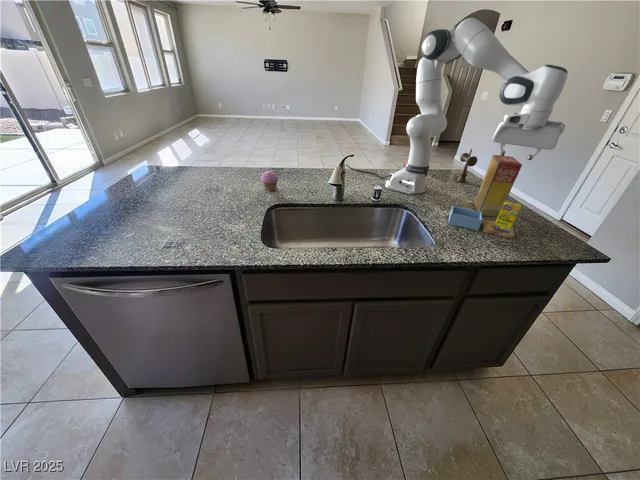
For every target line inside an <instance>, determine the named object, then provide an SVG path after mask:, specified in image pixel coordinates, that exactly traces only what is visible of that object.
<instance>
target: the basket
mask: <svg viewBox="0 0 640 480" xmlns="http://www.w3.org/2000/svg"><path fill="white" fill-rule="evenodd" d="M482 223H483V215H482V212H480V211H476V209H475V210H474V209H470V208H464V207H459V206H454V205H452V206H451V209H450V211H449V215H448V222H447V225H451V226H456V227H461V228H466V229H469V230H474V231H479V230H480V227H481V226H482V225H481V224H482Z"/></svg>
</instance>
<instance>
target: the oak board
mask: <svg viewBox="0 0 640 480" xmlns="http://www.w3.org/2000/svg"><path fill="white" fill-rule="evenodd" d="M495 223H496V221H493V220H488V219H482V231H483V233H487V234H491V235H496V236H500V237H504V238H510V239H515V236H516V234H515V231H514V228H513V227H514V226H512V227H511V230H510V231H509V233H507V232H504V231H501V230H498V229H494V228H493V227H494V225H495Z"/></svg>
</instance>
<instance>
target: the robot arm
mask: <svg viewBox="0 0 640 480" xmlns="http://www.w3.org/2000/svg"><path fill="white" fill-rule="evenodd" d="M420 51H421V56H423V57H422V58H420V60H419V61H418V64H417V70H416V77H415V78H416V80H415V102H416V105H417V106H418V108H419V111H420V114H417V115H415V116H413V117H411V118H410V119H409V120H408V122H407V124H406V128H405V129H406V133H407V135H408V137H409V142H410V148H409V155H408V160H405V161H404V162H403V165H402V168H401V169H399V170H397V171H395V172H394V173H393V172H392V173H389V174H388V175H386V176H383V177H382V176H380V175H379V174H377V173H376V172H372V171H367V170H360V169H357V170H355V171H356V172H361V173H367V174H373V175H375V176H377V177H378V178H379V179H381V180H382V179H384V180H385V179H386V178H388V177H389V180H386V181H385V184H384V187H385V188H386V189H389V190H392V191H396V192H401V193H403V194H408V195H414V194H423V193H425V192H426V190H427V189H426V183H427V176H428V174H429V171H430V162H431V159H432V155H433V154H432V153H433V149H432V146H431V138H432V137H436V136H438V135H440V134H441V133H443V132H444V131H445V130H446V128H447V125H448V120H447V117H446V116H445V114H444V111H443V105H442V100H441V97H442V96H441V92H442V91H441V90H442V70H443V67H444V65H449V64H450V65H451V63H453V62H454V61H456V60H458V59H460V58H461V57H463V59H464V60H465V61H466V62H467V63H468V64H470V65H471V66H472V67H474V68H476V69H480V70H486V71H488V72H493V73H496V74H497V75H499V76H500V77H501V78H502V79H503V80H504V81H505V82H503V84H502V85H501V87H500V90H499V95H498V96H499V100H500V102H501V103H502V104H503V105H506V106H515V107H516V106H517V107H518V106H522V109H521V110H520V111H518V112H511V113H508V114H505V115H504V116H503V121H501V122H500V123H499V124H498V125H497V127H496V129H495V130H494V133H493V135H492V138H491V141H492V142H493V143H498V144H499V147H500V152H499V155H500V156H506V155H505V154H506V152H507V151H506V150H504V147H505V146H506V145H512V146H517V147H524V148H525V147H526V148H532V149H534V150H535V151H534V152H532V153H529V154H528V156H527V158H526V160H528V161H533V160H534V157H535V156H537V155H538V154H539V153H541V151H542V150H548V151H552V150H554V149H555V148H556V146H557V144H558V142H559V139H560V136H561V135H562V134H563V133H564V131H565V129H566V125H565V124H564V123H563V122H562V121H554V120H549V119H550V117H551V115H552V112H553V110H554V105H555V104H556V102H557V101H558V100H559V98H560V96H561V94H562V92H563V90H564V87H565V85H566V82H567V80H568V75H569V71H568V69H566V68H565V67H564V66H559V65H554V64H543V65H542V66H540V67H538V68H536V69H534V70H533V71H528V70H527V69H526V67H524V66H523V65H522V64H521V63H520V62H519V61H518V60H517V59H516V58H515V57H513V56H512V55H511V54H510V52H509V51H508V50H507V49H506V48H505V46H504V45H503V44H502V43H501V42H500V40H499V39H498V38H497V36H496V35H495V34H494V32H493V31H492V30H491V29H490V28H489V27H488V26H487V25H486V24H485V23H483V22H482V21H480V20H478V19H477V18H474V17H467V18H465V19H463V20H462V21H460V23H459V24H458V25H457V26H456V28H455V29H451V28H447V29H446V28H445V29H442V28H438V29H434V30H431V31H429V32H428V33H426V35H425V36H424V38H423V39H422V43H421V48H420ZM344 167H347V168H348V169H349V170H353V169H354V168H353V167H351V166H349V164H347V163H346V164H344Z"/></svg>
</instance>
